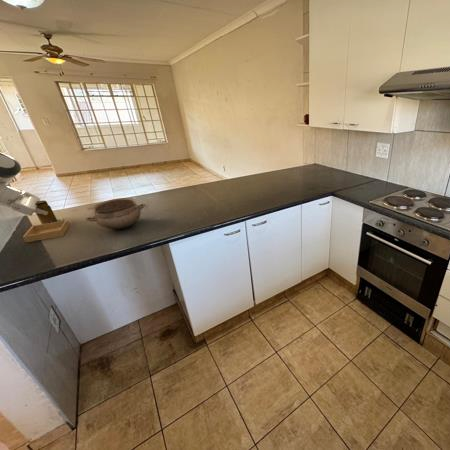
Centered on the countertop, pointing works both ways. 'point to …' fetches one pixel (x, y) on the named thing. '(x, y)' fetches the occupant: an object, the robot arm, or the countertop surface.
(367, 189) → the countertop surface
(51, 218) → the condiment
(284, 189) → the countertop surface
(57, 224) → the tray
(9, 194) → the robot arm
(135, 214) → the cooking pot
